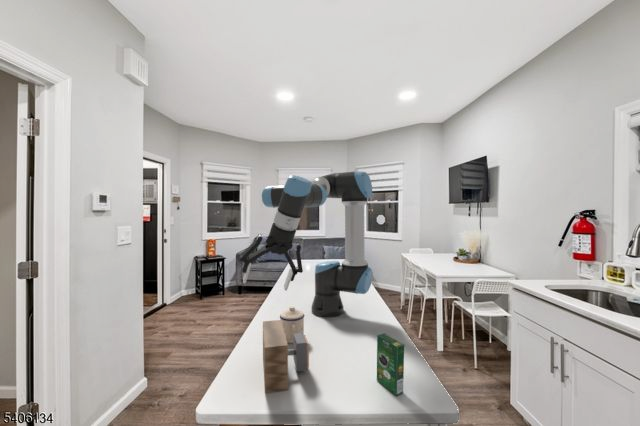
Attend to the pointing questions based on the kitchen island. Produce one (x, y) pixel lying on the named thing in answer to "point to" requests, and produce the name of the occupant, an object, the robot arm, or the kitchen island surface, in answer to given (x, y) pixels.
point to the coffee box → (390, 363)
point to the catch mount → (275, 356)
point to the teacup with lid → (292, 323)
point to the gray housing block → (300, 352)
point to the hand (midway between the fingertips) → (265, 284)
